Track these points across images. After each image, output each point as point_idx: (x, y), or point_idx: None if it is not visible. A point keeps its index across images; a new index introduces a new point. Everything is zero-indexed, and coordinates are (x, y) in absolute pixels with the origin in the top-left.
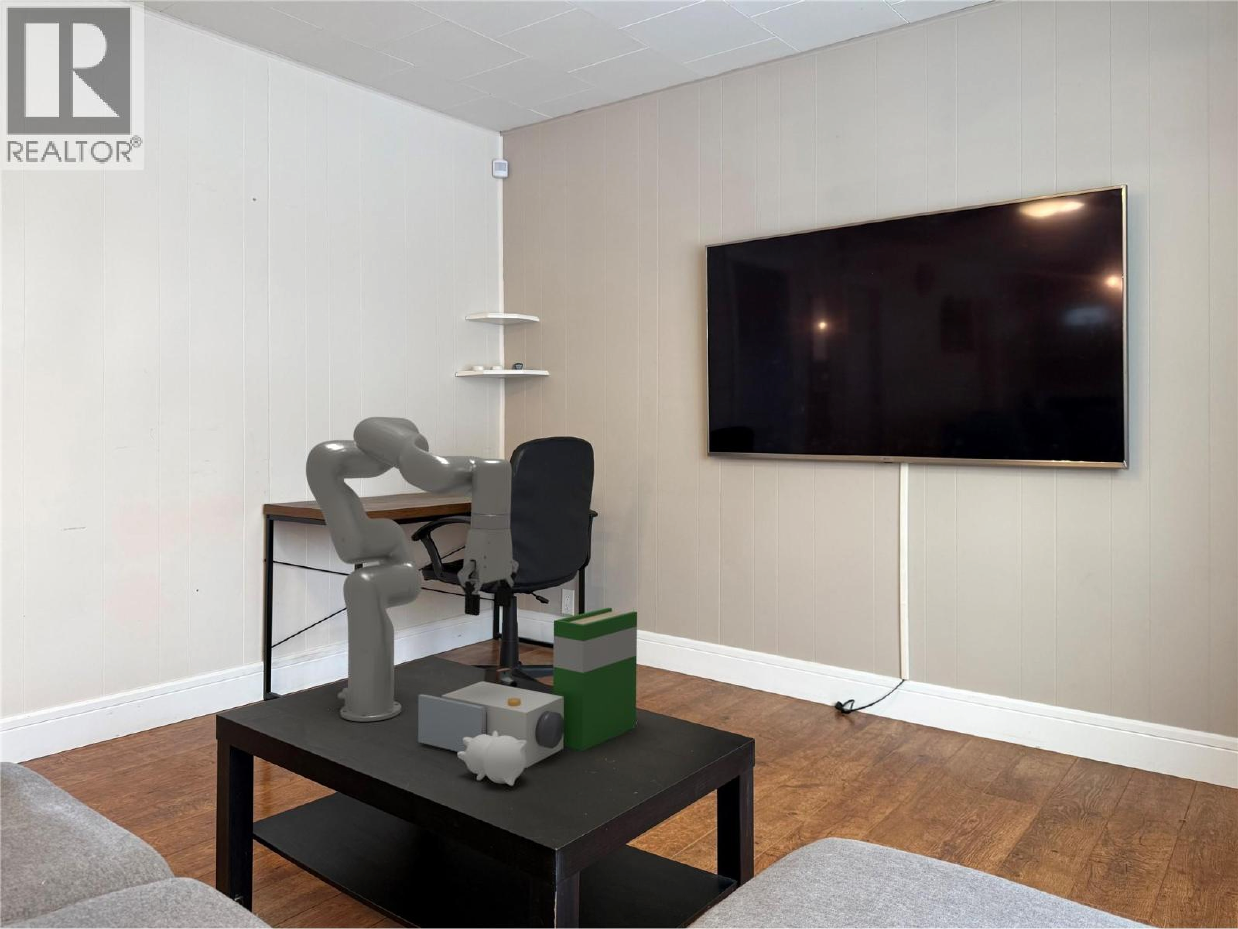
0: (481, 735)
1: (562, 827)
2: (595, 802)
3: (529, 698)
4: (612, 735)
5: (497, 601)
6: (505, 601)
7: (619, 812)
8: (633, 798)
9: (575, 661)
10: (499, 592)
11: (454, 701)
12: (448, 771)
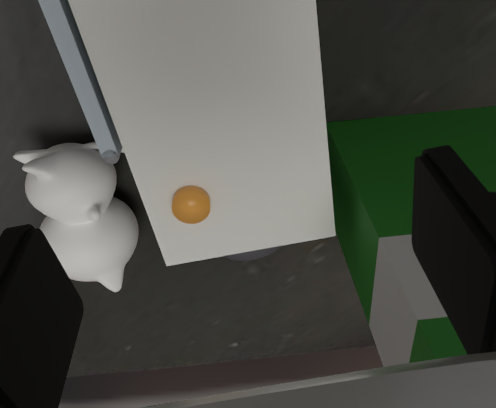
0: (59, 203)
1: (74, 355)
2: (164, 335)
3: (260, 191)
4: None
5: (429, 178)
6: (428, 253)
7: (166, 366)
8: (215, 353)
9: (379, 329)
10: (464, 251)
11: (67, 38)
12: (27, 92)
